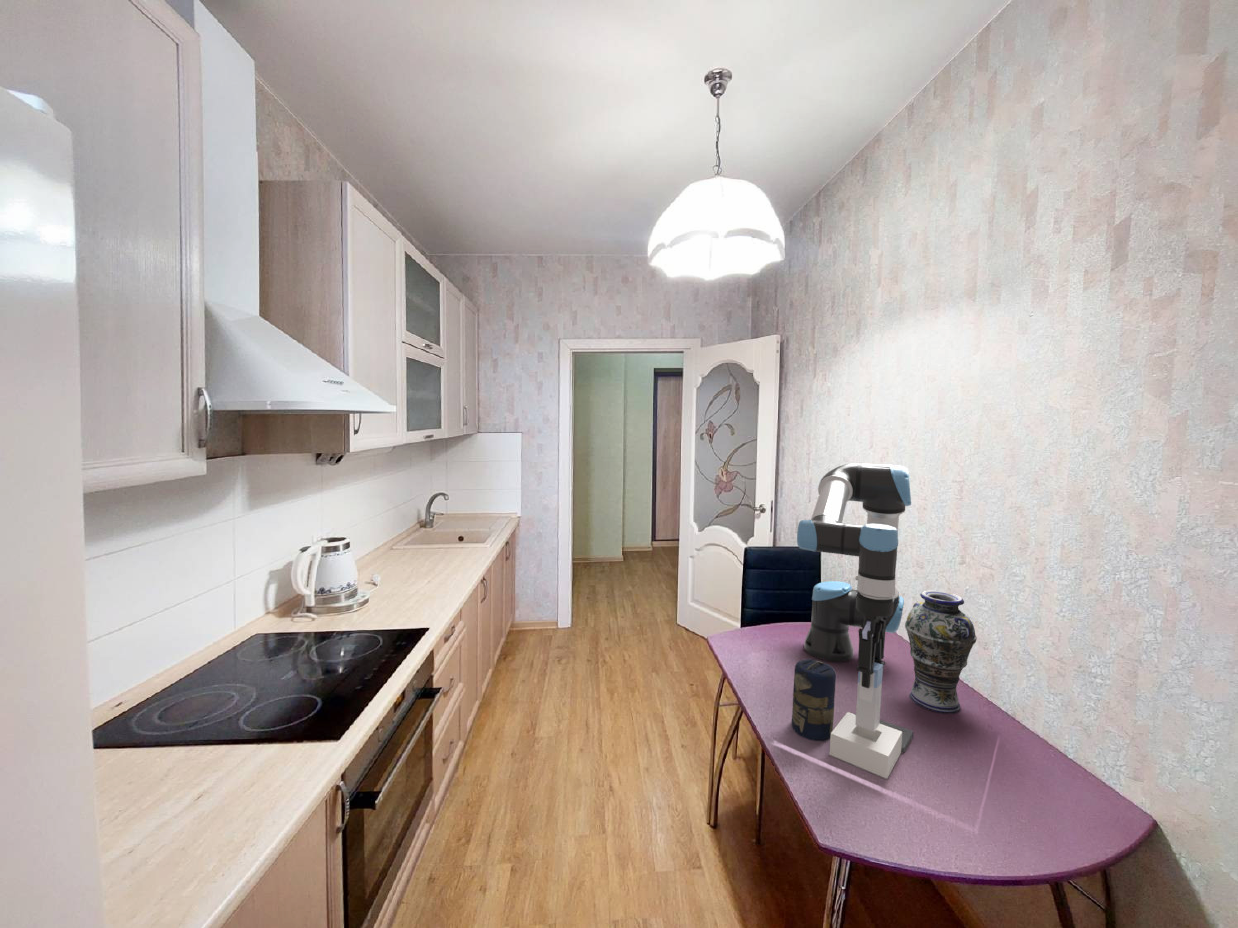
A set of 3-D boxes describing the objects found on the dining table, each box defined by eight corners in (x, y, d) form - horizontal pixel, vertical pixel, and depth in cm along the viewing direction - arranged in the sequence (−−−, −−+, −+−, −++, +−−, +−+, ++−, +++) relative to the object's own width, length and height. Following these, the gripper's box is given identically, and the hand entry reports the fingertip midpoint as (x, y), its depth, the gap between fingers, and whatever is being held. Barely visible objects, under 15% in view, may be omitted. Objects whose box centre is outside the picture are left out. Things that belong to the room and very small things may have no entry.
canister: (783, 725, 132) (786, 656, 130) (814, 718, 135) (817, 651, 134) (808, 747, 123) (812, 673, 121) (841, 740, 126) (845, 668, 125)
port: (846, 735, 128) (847, 711, 128) (900, 756, 120) (902, 731, 120) (829, 758, 119) (830, 733, 119) (886, 782, 111) (888, 756, 111)
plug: (860, 717, 122) (864, 659, 121) (879, 724, 119) (883, 664, 118) (855, 724, 119) (858, 664, 118) (874, 731, 116) (878, 670, 115)
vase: (943, 724, 134) (951, 610, 131) (885, 691, 149) (892, 589, 147) (986, 712, 140) (995, 602, 137) (927, 682, 156) (934, 583, 153)
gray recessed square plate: (873, 724, 133) (873, 716, 133) (912, 738, 127) (913, 731, 127) (862, 740, 126) (862, 732, 126) (903, 756, 120) (904, 748, 120)
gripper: (868, 582, 125) (862, 676, 127) (845, 599, 113) (839, 704, 114) (903, 589, 121) (896, 687, 122) (883, 608, 108) (876, 717, 109)
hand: (869, 695), depth 118 cm, fingers closed on plug, 4 cm apart
